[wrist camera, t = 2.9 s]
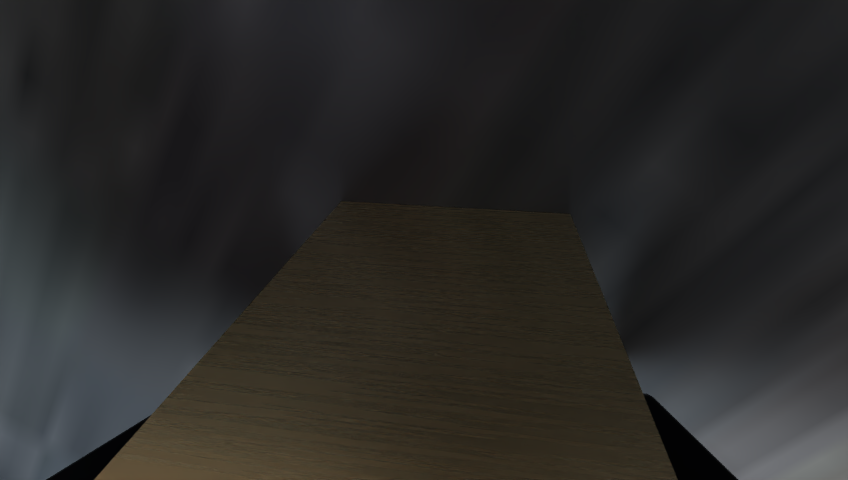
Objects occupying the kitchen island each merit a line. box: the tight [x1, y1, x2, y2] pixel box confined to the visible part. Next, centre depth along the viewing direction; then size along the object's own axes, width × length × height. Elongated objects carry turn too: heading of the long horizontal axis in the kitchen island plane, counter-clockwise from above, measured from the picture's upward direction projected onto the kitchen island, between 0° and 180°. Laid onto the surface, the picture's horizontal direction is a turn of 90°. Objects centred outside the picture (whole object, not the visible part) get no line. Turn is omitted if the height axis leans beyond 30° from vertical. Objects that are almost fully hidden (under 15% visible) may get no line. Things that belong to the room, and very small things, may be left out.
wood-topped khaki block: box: [94, 201, 678, 480], centre depth 6 cm, size 4×6×6 cm, turn 0°
